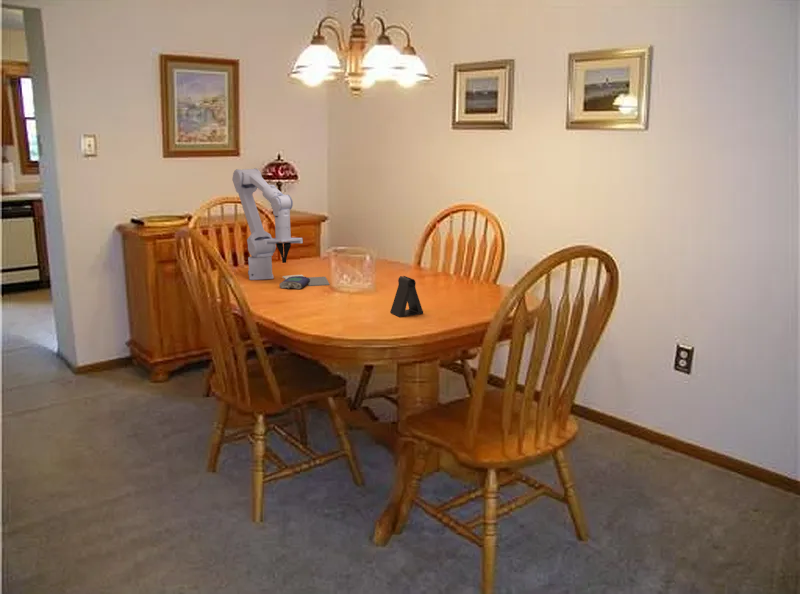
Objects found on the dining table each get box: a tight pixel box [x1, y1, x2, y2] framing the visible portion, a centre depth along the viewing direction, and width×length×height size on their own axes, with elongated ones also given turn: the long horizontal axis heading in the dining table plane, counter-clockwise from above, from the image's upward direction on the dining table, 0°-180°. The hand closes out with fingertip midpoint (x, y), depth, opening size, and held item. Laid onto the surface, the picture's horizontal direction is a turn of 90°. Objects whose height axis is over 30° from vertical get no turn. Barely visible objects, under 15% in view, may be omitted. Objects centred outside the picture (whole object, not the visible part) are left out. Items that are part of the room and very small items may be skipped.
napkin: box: [282, 274, 304, 280], centre depth 276 cm, size 8×6×1 cm
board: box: [306, 276, 331, 287], centre depth 269 cm, size 8×14×1 cm, turn 13°
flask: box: [279, 275, 310, 290], centre depth 260 cm, size 9×3×11 cm
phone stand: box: [390, 275, 424, 318], centre depth 222 cm, size 9×6×12 cm, turn 120°
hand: (284, 262), depth 264 cm, fingers closed
